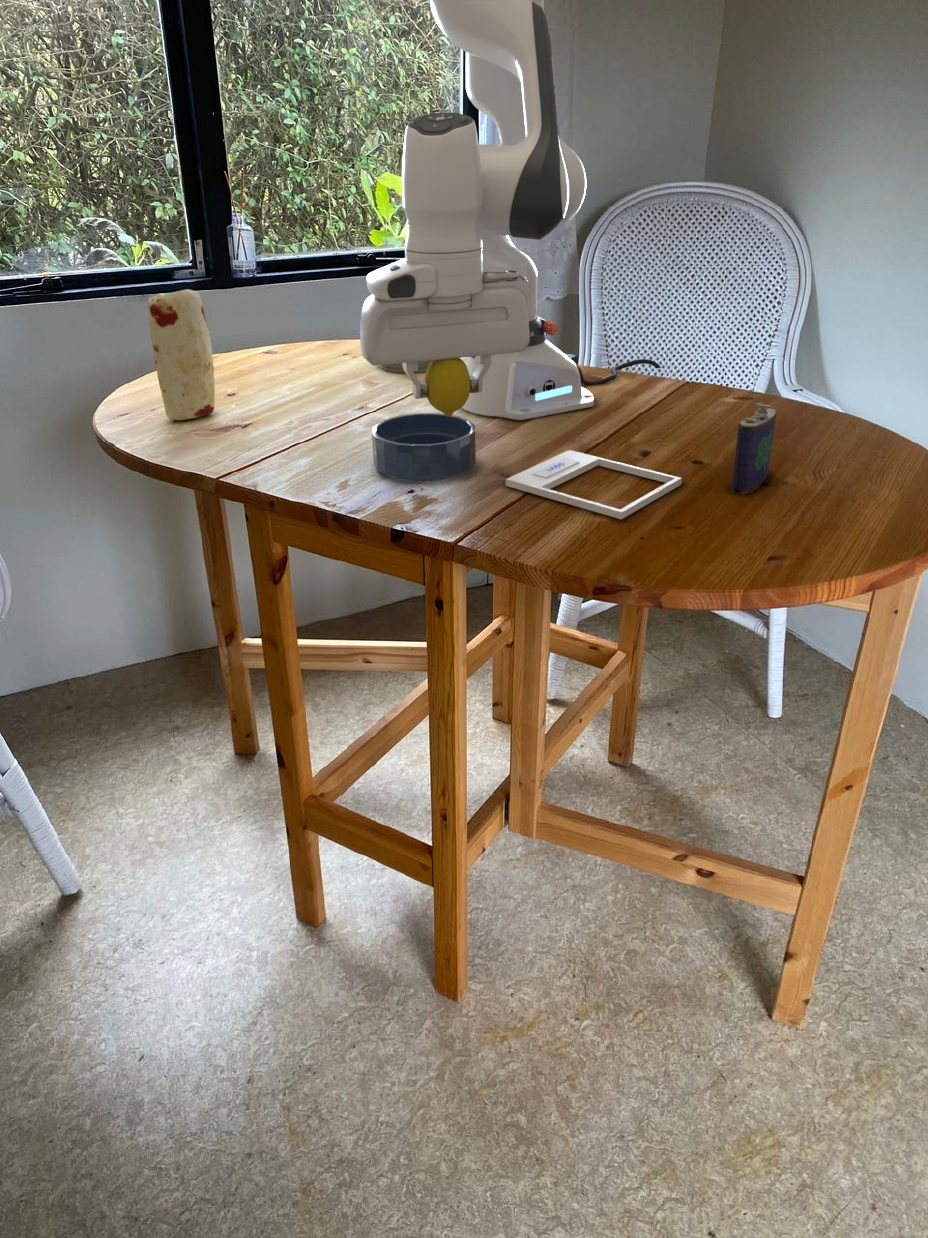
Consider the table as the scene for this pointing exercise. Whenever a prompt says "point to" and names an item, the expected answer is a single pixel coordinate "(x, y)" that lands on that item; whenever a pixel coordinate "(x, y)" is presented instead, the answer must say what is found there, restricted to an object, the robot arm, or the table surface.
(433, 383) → the lemon
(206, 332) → the food model
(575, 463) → the photo frame
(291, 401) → the table surface
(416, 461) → the bowl
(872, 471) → the table surface
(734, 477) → the flask
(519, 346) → the robot arm
